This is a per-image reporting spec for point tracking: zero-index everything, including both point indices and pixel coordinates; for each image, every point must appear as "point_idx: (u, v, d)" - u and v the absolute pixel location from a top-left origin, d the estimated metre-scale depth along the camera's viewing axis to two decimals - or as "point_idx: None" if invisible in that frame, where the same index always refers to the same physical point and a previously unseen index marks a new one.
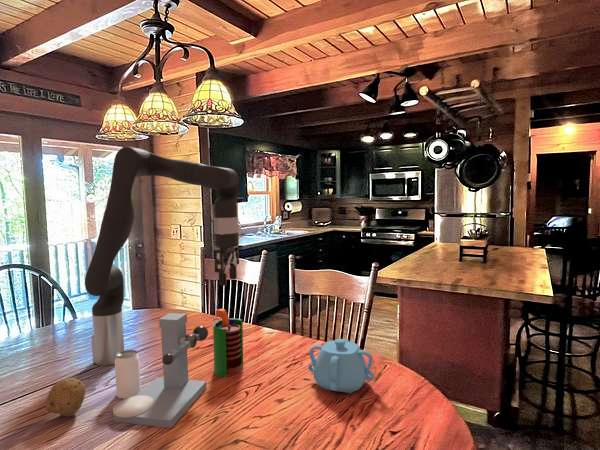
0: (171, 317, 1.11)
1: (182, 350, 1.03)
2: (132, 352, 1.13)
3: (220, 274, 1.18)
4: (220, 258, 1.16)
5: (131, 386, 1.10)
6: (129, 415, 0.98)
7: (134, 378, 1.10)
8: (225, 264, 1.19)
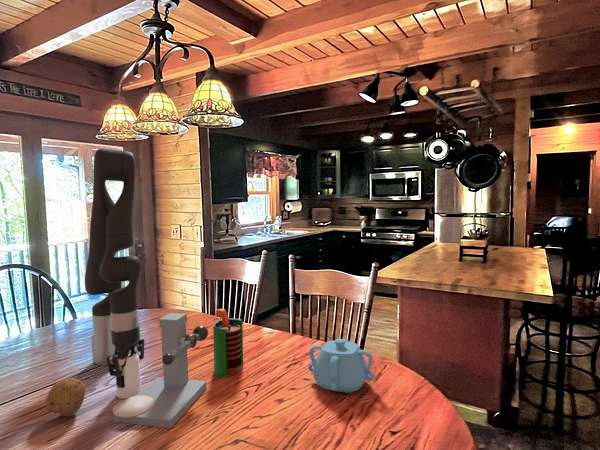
0: (171, 317, 1.11)
1: (182, 350, 1.03)
2: None
3: (117, 376, 1.08)
4: (113, 363, 1.05)
5: (131, 386, 1.10)
6: (129, 415, 0.98)
7: (134, 378, 1.10)
8: (122, 365, 1.09)
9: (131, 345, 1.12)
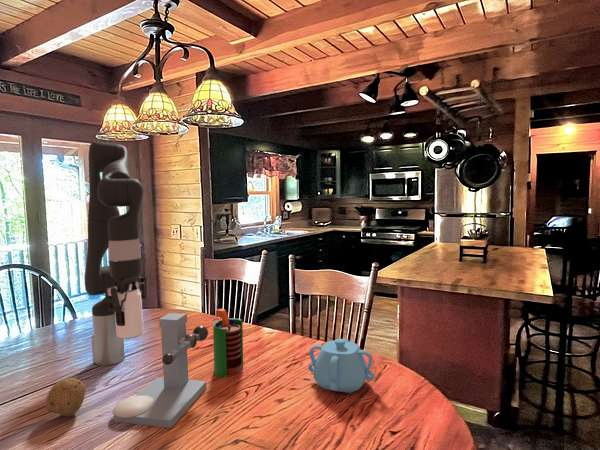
0: (171, 317, 1.11)
1: (182, 350, 1.03)
2: None
3: (117, 312, 0.96)
4: (112, 295, 0.93)
5: (132, 325, 0.98)
6: (129, 415, 0.98)
7: (135, 315, 0.98)
8: (122, 300, 0.96)
9: (132, 280, 1.00)
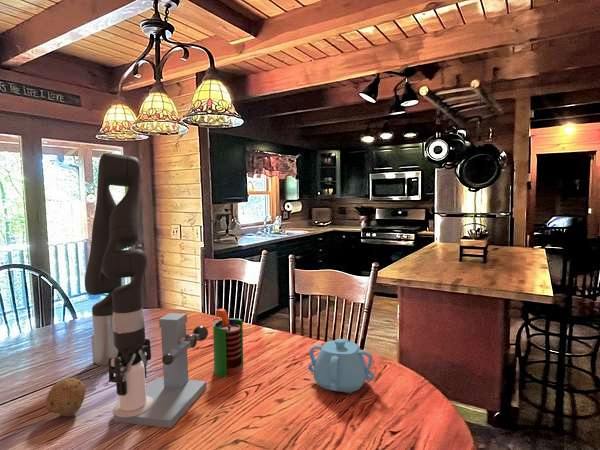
0: (171, 317, 1.11)
1: (182, 350, 1.03)
2: None
3: (117, 383, 0.96)
4: (115, 366, 0.94)
5: (135, 398, 0.99)
6: (129, 415, 0.98)
7: (138, 388, 1.00)
8: (124, 369, 0.97)
9: (135, 348, 1.01)
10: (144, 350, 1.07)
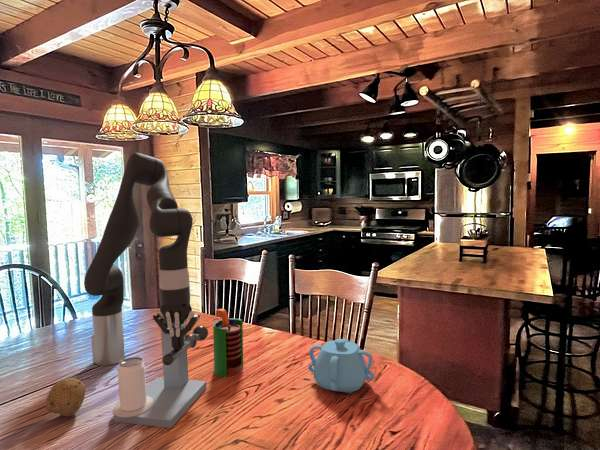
0: None
1: (182, 350, 1.03)
2: (137, 360, 1.03)
3: None
4: None
5: (135, 398, 0.99)
6: (129, 415, 0.98)
7: (138, 388, 1.00)
8: None
9: (176, 309, 1.01)
10: None
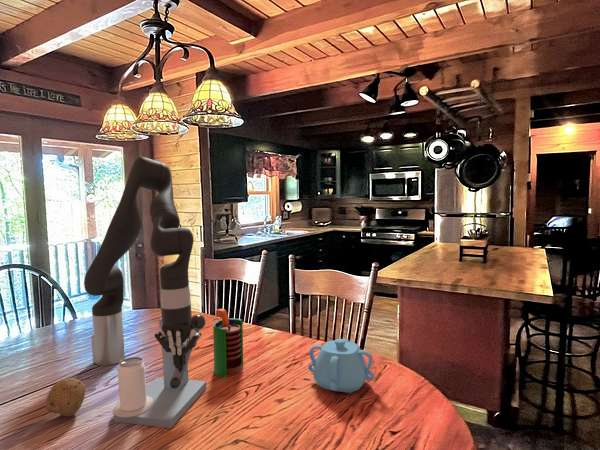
0: None
1: (185, 363, 1.05)
2: (137, 360, 1.03)
3: None
4: None
5: (135, 398, 0.99)
6: (129, 415, 0.98)
7: (138, 388, 1.00)
8: None
9: (177, 327, 1.01)
10: None
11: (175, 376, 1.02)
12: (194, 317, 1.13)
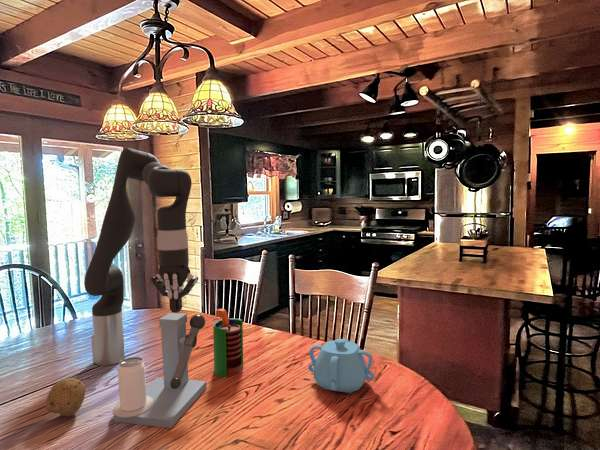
0: (171, 317, 1.11)
1: (186, 363, 1.05)
2: (137, 360, 1.03)
3: None
4: None
5: (135, 398, 0.99)
6: (129, 415, 0.98)
7: (138, 388, 1.00)
8: None
9: (174, 271, 1.00)
10: None
11: (175, 376, 1.02)
12: (194, 317, 1.13)
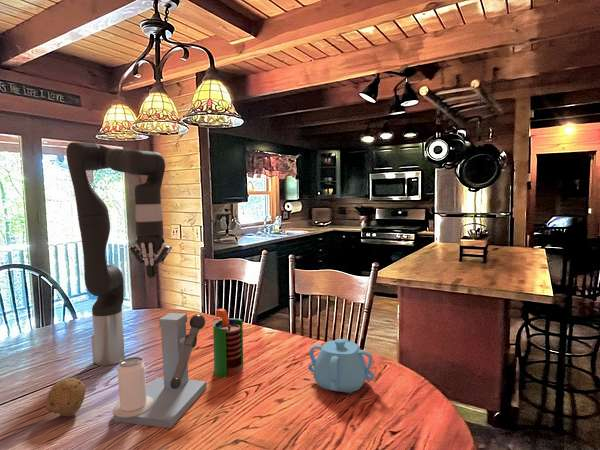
0: (171, 317, 1.11)
1: (186, 363, 1.05)
2: (137, 360, 1.03)
3: None
4: None
5: (135, 398, 0.99)
6: (129, 415, 0.98)
7: (138, 388, 1.00)
8: None
9: (150, 240, 1.13)
10: None
11: (175, 376, 1.02)
12: (194, 317, 1.13)
